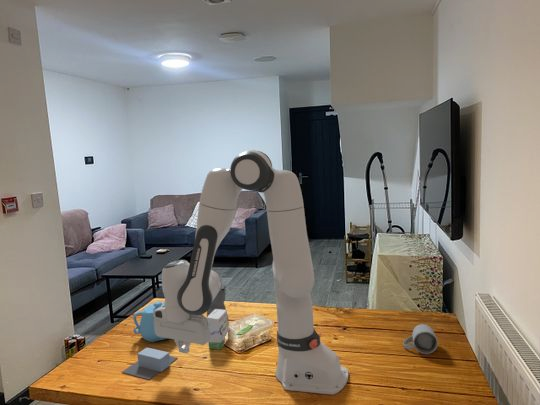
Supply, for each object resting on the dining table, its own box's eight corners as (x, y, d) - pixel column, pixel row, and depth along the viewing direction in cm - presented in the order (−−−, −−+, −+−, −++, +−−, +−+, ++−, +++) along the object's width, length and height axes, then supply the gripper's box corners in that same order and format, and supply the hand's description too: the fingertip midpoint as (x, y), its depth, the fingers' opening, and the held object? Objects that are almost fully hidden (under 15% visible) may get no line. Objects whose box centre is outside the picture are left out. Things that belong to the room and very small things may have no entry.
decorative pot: (163, 323, 173) (159, 292, 171) (190, 330, 164) (187, 298, 162) (131, 340, 160) (126, 306, 158) (159, 349, 151) (155, 313, 149)
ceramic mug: (434, 342, 142) (433, 321, 141) (438, 354, 134) (437, 332, 133) (402, 341, 145) (401, 321, 144) (404, 353, 137) (403, 331, 136)
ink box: (221, 350, 147) (218, 318, 145) (208, 348, 148) (205, 318, 147) (229, 338, 155) (227, 309, 153) (217, 337, 156) (215, 308, 155)
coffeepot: (236, 320, 170) (232, 279, 168) (218, 329, 164) (214, 285, 161) (213, 311, 181) (210, 272, 179) (196, 319, 175) (192, 278, 172)
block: (169, 352, 138) (146, 347, 142) (160, 359, 134) (137, 353, 138) (170, 364, 138) (148, 359, 143) (161, 371, 134) (138, 366, 139)
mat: (177, 358, 143) (177, 357, 143) (149, 380, 131) (149, 379, 131) (151, 352, 148) (151, 351, 148) (121, 372, 136) (121, 371, 136)
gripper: (212, 311, 128) (216, 352, 130) (162, 303, 137) (166, 342, 139) (200, 319, 122) (205, 362, 124) (148, 311, 132) (153, 351, 134)
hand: (184, 352), depth 132 cm, fingers closed
